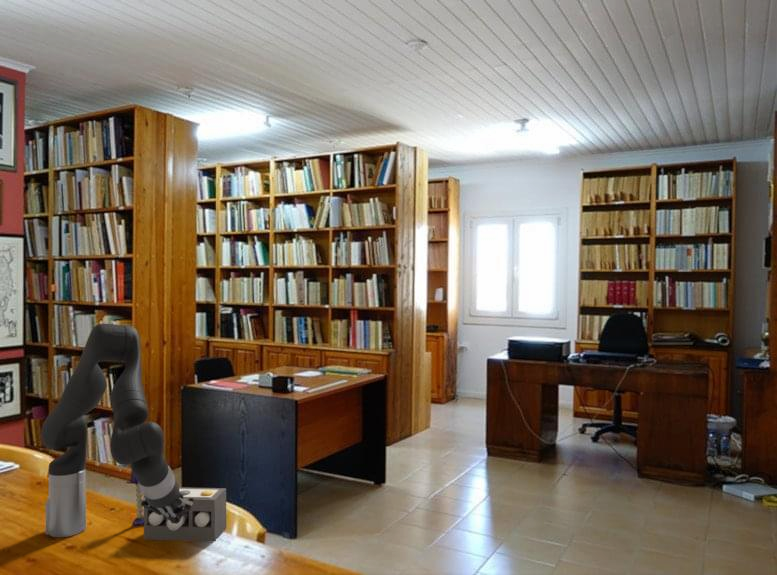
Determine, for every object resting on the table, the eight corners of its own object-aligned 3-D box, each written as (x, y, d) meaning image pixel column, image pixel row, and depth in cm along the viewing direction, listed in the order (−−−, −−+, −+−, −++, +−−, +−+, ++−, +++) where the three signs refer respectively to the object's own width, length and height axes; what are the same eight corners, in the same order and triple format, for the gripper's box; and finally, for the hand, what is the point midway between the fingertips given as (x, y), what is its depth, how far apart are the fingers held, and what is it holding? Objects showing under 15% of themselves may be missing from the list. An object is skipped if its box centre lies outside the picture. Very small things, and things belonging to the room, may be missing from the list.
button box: (143, 539, 163) (143, 496, 162) (159, 526, 172) (158, 484, 171) (214, 541, 161) (214, 497, 161) (226, 528, 170) (226, 486, 170)
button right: (194, 526, 161) (194, 513, 161) (203, 517, 167) (203, 504, 167) (207, 527, 160) (207, 514, 160) (216, 517, 167) (216, 505, 167)
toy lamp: (141, 528, 170) (140, 470, 170) (126, 526, 171) (126, 469, 171) (151, 521, 175) (150, 465, 175) (137, 520, 176) (136, 464, 176)
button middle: (167, 530, 158) (166, 517, 158) (177, 520, 165) (177, 507, 165) (180, 530, 158) (179, 517, 158) (190, 521, 165) (189, 508, 165)
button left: (148, 525, 162) (148, 512, 162) (159, 516, 168) (159, 503, 168) (161, 525, 161) (161, 512, 161) (171, 516, 168) (171, 503, 168)
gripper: (191, 471, 139) (206, 508, 151) (137, 466, 140) (156, 503, 152) (180, 500, 134) (197, 536, 145) (123, 496, 135) (145, 532, 146)
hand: (176, 519), depth 148 cm, fingers closed
